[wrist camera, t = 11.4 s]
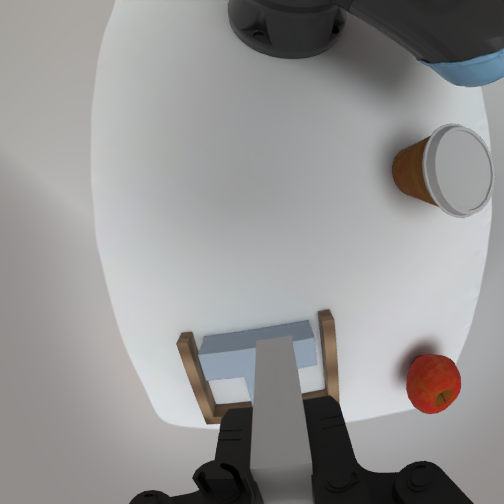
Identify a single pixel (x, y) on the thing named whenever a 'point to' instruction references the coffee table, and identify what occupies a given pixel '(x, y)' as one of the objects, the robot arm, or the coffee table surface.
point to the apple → (433, 383)
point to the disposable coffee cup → (447, 170)
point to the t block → (252, 351)
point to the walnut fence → (216, 412)
